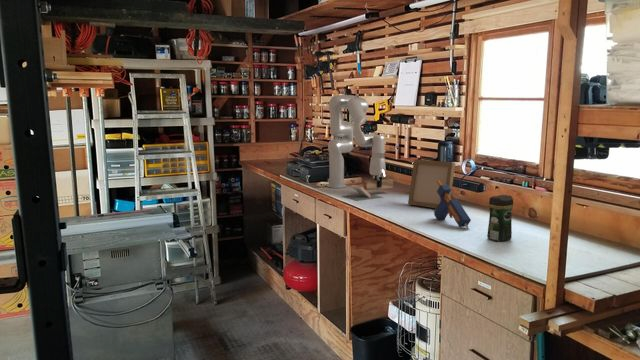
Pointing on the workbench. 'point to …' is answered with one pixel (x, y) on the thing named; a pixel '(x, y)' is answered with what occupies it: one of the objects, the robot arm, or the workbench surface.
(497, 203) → the coffee jar
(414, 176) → the photo frame
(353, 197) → the mat
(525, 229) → the workbench surface
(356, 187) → the tile
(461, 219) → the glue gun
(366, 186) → the batten
